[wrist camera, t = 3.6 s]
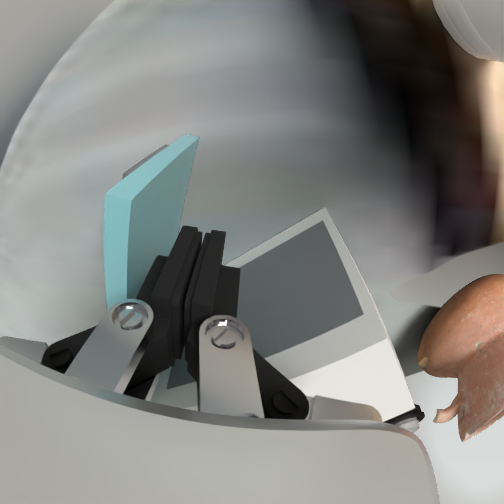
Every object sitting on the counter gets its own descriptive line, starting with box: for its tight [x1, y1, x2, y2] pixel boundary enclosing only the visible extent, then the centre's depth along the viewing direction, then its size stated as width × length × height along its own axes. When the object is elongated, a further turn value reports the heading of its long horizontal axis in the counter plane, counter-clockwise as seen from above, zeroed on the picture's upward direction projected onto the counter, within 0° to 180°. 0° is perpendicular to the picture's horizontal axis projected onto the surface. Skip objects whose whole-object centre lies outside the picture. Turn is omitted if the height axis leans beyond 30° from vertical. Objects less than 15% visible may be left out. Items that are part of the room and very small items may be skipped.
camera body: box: [150, 207, 415, 422], centre depth 17 cm, size 16×10×12 cm, turn 125°
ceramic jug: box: [417, 274, 504, 442], centre depth 18 cm, size 18×14×14 cm
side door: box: [104, 134, 200, 312], centre depth 14 cm, size 14×1×10 cm, turn 163°
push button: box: [383, 404, 425, 433], centre depth 23 cm, size 7×5×10 cm
